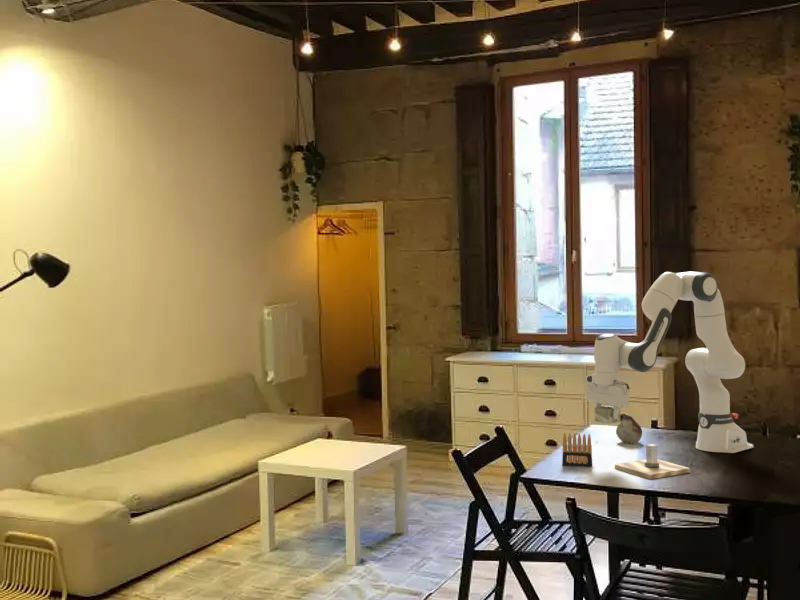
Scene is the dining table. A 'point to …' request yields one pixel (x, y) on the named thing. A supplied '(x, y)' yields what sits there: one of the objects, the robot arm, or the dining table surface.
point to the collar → (605, 414)
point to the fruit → (629, 430)
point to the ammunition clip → (577, 452)
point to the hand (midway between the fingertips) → (607, 416)
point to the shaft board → (652, 466)
